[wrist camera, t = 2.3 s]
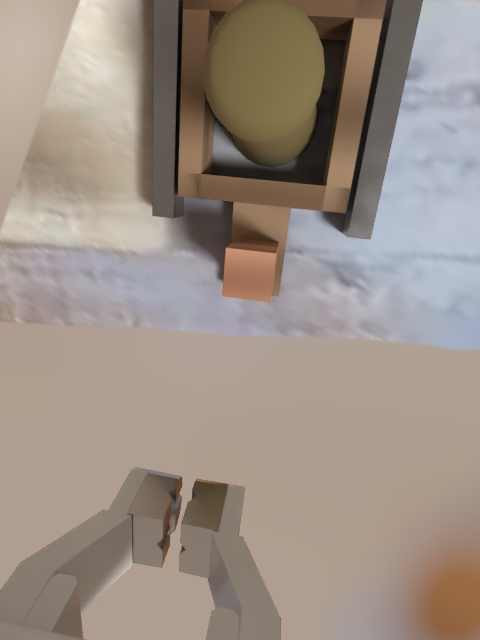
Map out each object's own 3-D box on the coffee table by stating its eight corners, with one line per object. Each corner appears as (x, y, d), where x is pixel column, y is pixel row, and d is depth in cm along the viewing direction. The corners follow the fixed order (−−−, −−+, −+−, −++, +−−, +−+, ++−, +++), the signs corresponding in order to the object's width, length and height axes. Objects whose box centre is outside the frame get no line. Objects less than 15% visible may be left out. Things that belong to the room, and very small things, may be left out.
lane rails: (167, -17, 22) (153, -42, 20) (414, -6, 21) (429, -32, 18) (164, 213, 27) (152, 215, 25) (363, 235, 26) (370, 239, 23)
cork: (280, 184, 25) (273, 179, 15) (212, 131, 25) (156, 86, 14) (337, 105, 23) (375, 35, 13) (264, 44, 23) (242, -81, 12)
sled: (197, 3, 22) (164, -65, 16) (376, 11, 21) (409, -57, 15) (186, 280, 28) (160, 303, 23) (323, 297, 27) (332, 325, 22)
